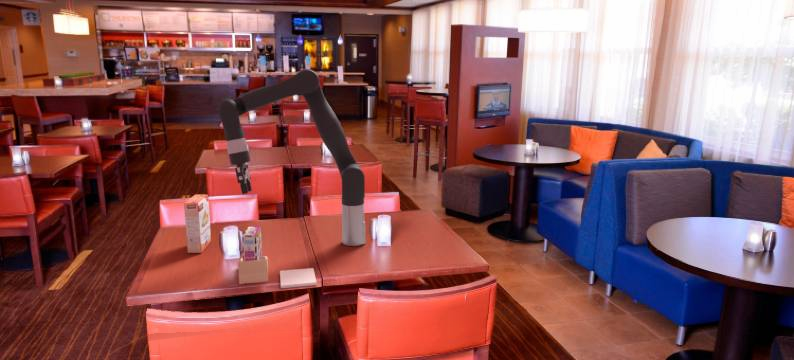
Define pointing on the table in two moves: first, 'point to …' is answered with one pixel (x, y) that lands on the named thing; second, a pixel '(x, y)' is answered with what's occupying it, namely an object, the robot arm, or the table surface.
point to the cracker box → (197, 223)
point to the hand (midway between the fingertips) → (247, 192)
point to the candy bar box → (252, 244)
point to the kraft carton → (253, 271)
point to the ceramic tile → (297, 278)
